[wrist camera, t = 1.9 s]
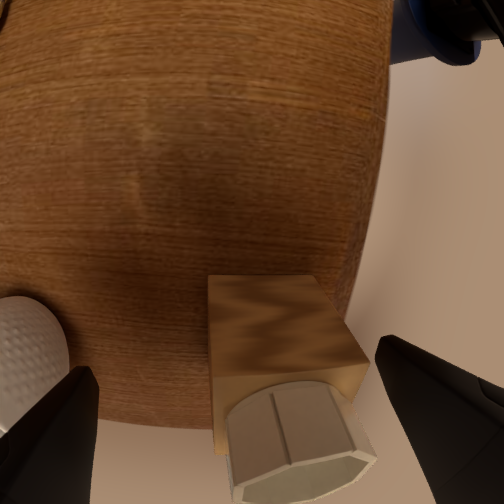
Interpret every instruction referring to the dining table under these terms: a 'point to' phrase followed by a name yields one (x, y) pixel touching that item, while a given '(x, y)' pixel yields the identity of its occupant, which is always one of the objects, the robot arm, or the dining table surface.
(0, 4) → the fruit
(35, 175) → the dining table surface
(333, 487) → the bowl
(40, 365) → the mug
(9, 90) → the dining table surface
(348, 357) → the stand
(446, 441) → the robot arm
